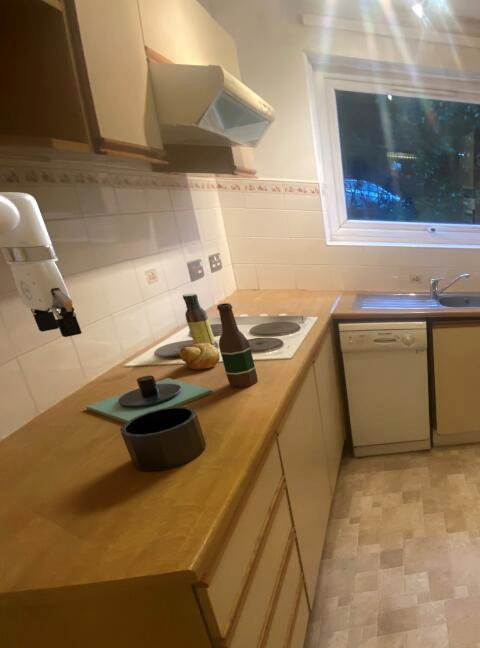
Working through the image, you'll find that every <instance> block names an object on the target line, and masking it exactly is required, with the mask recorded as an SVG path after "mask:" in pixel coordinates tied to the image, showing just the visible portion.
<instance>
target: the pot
mask: <svg viewBox="0 0 480 648" xmlns="http://www.w3.org/2000/svg"><path fill="white" fill-rule="evenodd" d="M201 426H202V425H201V423H200V420H199V417H198V414H197V412H196V409H195V408H192V407H189V406H179V407H169V408H162V409H158V410H154V411H150V412H147V413H145V414H142V415H140V416H137V417H135V418H133V419H131V420H129V421H128V422H126V423H125V422H124V424H123V425H122V426H121V427H120V429H119V430H120V434H121V437H122V440H123V442H124V444H125V448H126V450H127V452H128V454H129V457H130V459H131V462H132V465H133V467H134V469H136V470H137V471H139V472H145V473H157V472H162V471H167V470H171V469H175V468H178V467H180V466H183V465H186V464H188V463H190V462H192V461H194V460H195V459H197V458H198V457H200V456H201V455H202V454H203V453H204V452H205V450H206V448H207V443H206V440H205V436H204V434H203V433H204V432H203V430H202V427H201Z"/></svg>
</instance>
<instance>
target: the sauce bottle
mask: <svg viewBox="0 0 480 648" xmlns="http://www.w3.org/2000/svg"><path fill="white" fill-rule="evenodd" d="M198 298H199V297H198V293H195V292H193V293H192V292H191V293H185V294H183V295H182V299H183V300H184V303H185V306H186V311H185V313H184V315H185V316H184V317H185V320H186V323H187V326H188V329H189V333H190V336H191V339H192V341H193V345H194V344H197V343H209V344H211V345H214V346H216V347H217V345H216V340H215V336H214V333H213V330H212V327H211V324H210V320H209V317H208V314H207V312H206V310H205V309H203V308H202V307H201V305H200V302H199V299H198Z"/></svg>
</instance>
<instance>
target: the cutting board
mask: <svg viewBox="0 0 480 648" xmlns="http://www.w3.org/2000/svg"><path fill="white" fill-rule="evenodd" d="M155 382H156V384H177V385H179V386H180V387H181V391H180V393H178V394H177V395H176V396H174V397H172V398H170V399H167V400H165V401H162V402H159V403H155V404H151V405H145V406H137V407H126V406H122V405H120V404H119V402H118V400H119V398H120V397H121V396H123V395H124V394H126V393H128V392H130V391H133V390H136V389H139V387H137V388H134V389H132V390H129V391H126V392H123V393H119V394H117V395H114V396H111V397H108V398H105V399H103V400H100V401H95V402H94V403H90V404H88V405H85V408H86V410H88V411H91V412H93V413H97V414H100V415H102V416H105V417H108V418H111V419H114V420H117V421H119V422H122V423H124V424H125V423H126V422H128V421H129V420H131V419H133V418H135V417H137V416H140V415H142V414H145V413H147V412H150V411H154V410H158V409H162V408H169V407H182V406H183V405H186V404H188V402H189V403H191V402H194V401H196V400H199V399H201V398H203V396H204V397H205V396H208V395H211V394H213V393H214V391H213V389H211V388H207V387H203V386H200V385H197V384H193V383H188V382H184V381H180V380H178V379H174V378H169V377H166V378H164V379H161V380H158V381H155ZM198 398H199V399H198ZM193 400H194V401H193ZM190 401H191V402H190Z"/></svg>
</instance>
